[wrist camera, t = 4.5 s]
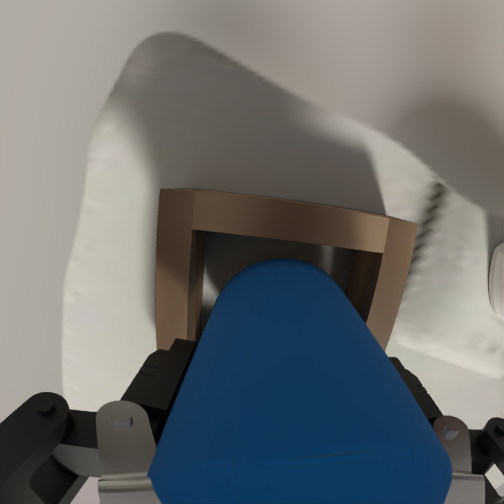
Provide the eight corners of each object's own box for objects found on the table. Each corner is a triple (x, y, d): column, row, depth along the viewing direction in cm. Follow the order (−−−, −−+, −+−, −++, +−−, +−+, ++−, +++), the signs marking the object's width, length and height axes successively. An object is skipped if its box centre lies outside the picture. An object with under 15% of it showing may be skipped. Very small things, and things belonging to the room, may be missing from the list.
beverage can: (325, 375, 15) (374, 576, 3) (209, 359, 15) (145, 572, 3) (357, 265, 13) (539, 455, 2) (223, 243, 13) (65, 481, 2)
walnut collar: (386, 215, 14) (417, 223, 11) (344, 383, 17) (357, 418, 13) (183, 188, 14) (160, 189, 11) (176, 366, 17) (160, 401, 13)
